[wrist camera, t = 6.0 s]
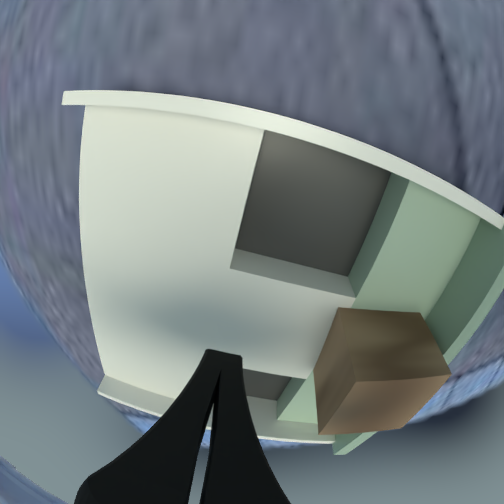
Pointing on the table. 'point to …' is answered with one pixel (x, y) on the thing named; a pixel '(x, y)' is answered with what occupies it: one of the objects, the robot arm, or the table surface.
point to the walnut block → (375, 371)
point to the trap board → (261, 249)
